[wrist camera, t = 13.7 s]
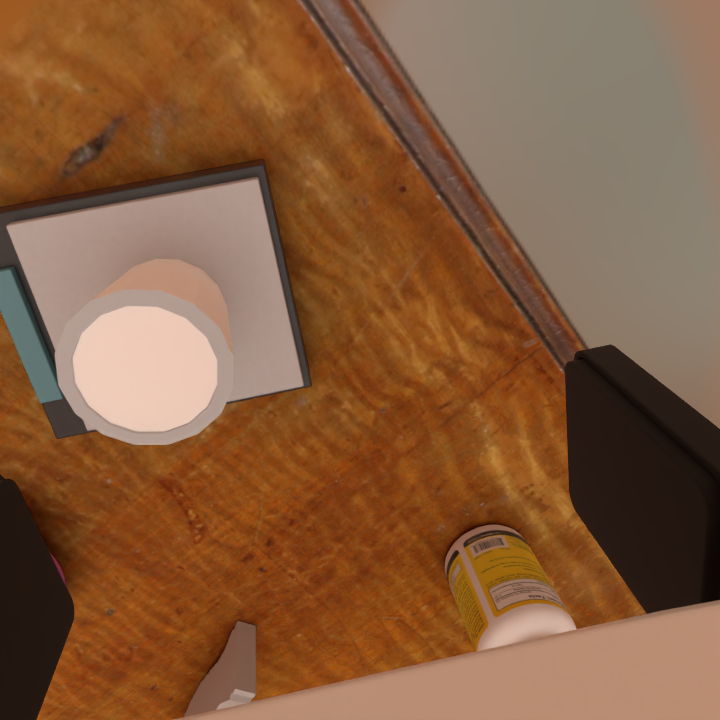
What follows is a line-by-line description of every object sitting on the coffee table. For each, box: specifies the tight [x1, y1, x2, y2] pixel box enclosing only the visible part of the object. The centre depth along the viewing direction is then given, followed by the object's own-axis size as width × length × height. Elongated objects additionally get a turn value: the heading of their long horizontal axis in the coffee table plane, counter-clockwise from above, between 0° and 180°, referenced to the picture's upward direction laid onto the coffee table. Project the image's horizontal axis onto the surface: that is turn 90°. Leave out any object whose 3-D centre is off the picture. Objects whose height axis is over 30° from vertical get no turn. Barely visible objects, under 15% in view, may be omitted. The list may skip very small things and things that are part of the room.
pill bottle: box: [445, 525, 576, 652], centre depth 40 cm, size 6×6×11 cm
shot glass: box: [55, 259, 234, 445], centre depth 28 cm, size 7×7×7 cm
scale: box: [0, 159, 312, 439], centre depth 33 cm, size 14×12×3 cm
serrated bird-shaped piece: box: [184, 621, 256, 717], centre depth 43 cm, size 6×1×10 cm
